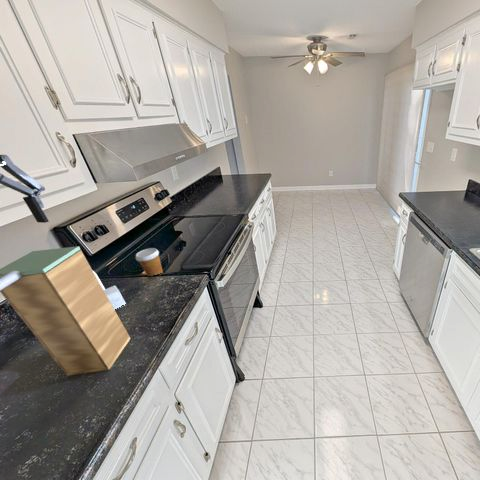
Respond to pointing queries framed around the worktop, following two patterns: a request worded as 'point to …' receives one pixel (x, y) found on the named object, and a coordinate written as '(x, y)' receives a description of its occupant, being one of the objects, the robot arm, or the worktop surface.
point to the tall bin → (70, 315)
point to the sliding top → (34, 264)
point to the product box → (114, 297)
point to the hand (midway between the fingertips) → (9, 233)
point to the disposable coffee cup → (150, 261)
